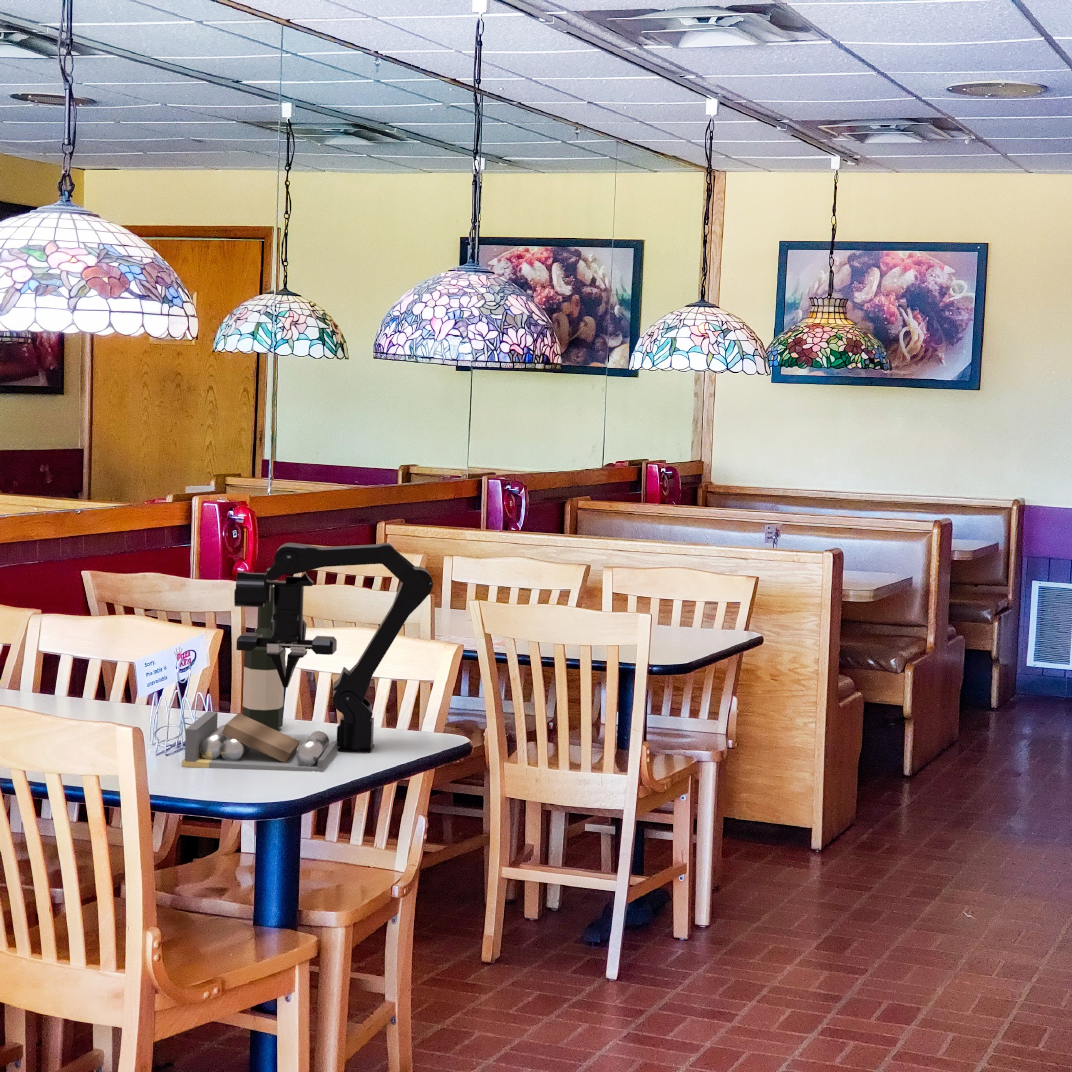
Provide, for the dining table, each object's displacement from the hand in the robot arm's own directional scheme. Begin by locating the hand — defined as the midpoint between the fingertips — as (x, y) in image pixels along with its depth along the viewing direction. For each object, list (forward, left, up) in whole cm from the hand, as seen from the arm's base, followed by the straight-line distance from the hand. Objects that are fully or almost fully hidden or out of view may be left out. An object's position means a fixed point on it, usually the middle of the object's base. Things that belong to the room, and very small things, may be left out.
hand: (285, 687), depth 288 cm
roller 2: (+5, +11, -9) cm, 15 cm away
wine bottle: (+8, -18, -12) cm, 23 cm away
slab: (+3, +11, -9) cm, 14 cm away
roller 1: (+9, +11, -9) cm, 17 cm away
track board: (+2, +11, -12) cm, 16 cm away
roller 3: (-7, +12, -11) cm, 18 cm away
